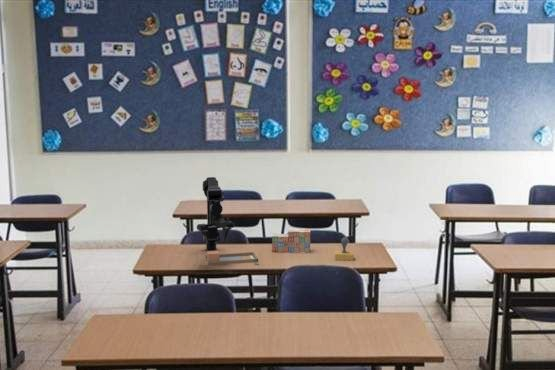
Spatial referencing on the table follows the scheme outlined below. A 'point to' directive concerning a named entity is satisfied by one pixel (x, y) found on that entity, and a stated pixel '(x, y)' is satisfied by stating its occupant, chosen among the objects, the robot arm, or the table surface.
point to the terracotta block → (213, 256)
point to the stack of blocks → (292, 241)
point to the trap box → (235, 258)
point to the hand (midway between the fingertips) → (216, 242)
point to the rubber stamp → (344, 252)
